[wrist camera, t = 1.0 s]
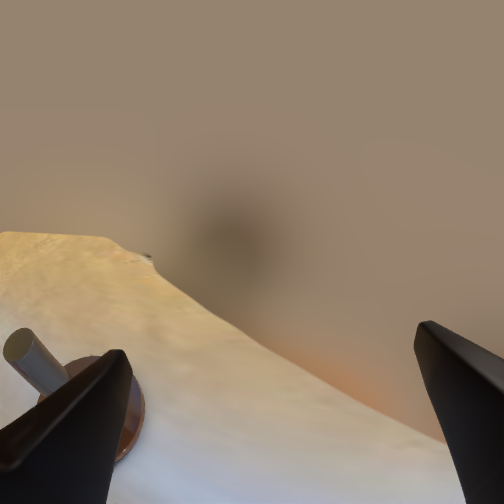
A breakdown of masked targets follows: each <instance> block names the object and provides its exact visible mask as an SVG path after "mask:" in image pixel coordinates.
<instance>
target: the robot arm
mask: <svg viewBox="0 0 504 504" xmlns="http://www.w3.org/2000/svg"><path fill="white" fill-rule="evenodd" d="M414 351H415V354H416V357H417V361H418V364H419V367H420V370H421V374H422V377H423V380H424V383H425V387H426V390H427V392H428V395H429V398H430V400H431V403H432V405H433V408H434V410H435V413H436V415H437V418H438V420H439V423H440V425H441V428H442V431H443V434H444V436H445V439H446V442H447V445H448V447H449V450H450V453H451V456H452V459H453V462H454V465H455V468H456V471H457V474H458V477H459V480H460V483H461V487H462V490H463V493H464V497H465V499H466V500H465V501H466V504H504V359H502V358H501V357H499V356H497V355H495V354H493V353H491V352H490V351H488V350H486V349H484V348H482V347H480V346H478V345H477V344H474V343H473V342H471V341H469V340H467V339H465V338H464V337H462V336H460V335H458V334H456V333H454V332H452V331H450V330H449V329H447V328H445V327H443V326H441V325H439V324H437V323H435V322H434V321H424V322H421V323H419V325H418V327H417V332H416V336H415V341H414ZM132 377H133V371H132V368H131V365H130V363H129V361H128V359H127V356H126V354H125V352H124V351H123V350H121V349H112V350H109V351H108V352H107V353H105V354H104V355H103V356H101V357H100V358H99V359H97V360H96V361H95V362H93V363H92V364H90V365H89V366H88V367H86V368H85V369H84V370H82V371H81V372H80V373H78V374H77V375H76V376H74V377H73V378H72V379H70V380H69V381H68V382H66V383H65V384H64V385H62V386H61V387H60V388H58V389H57V390H55V391H54V392H53V393H51V394H50V395H49V396H47V397H46V398H45V399H43V400H42V401H41V402H39V403H38V404H37V405H35V408H34V407H33V408H31V409H30V410H29V411H27V412H26V413H25V414H23V415H22V416H20V417H19V418H18V419H16V420H15V421H13V422H12V423H10V424H9V425H7V426H6V427H4V428H2V429H1V430H0V504H106V501H107V496H108V491H109V486H110V482H111V477H112V473H113V468H114V464H115V459H116V455H117V451H118V447H119V443H120V439H121V435H122V431H123V427H124V423H125V419H126V415H127V409H128V402H129V395H130V389H131V383H132Z"/></svg>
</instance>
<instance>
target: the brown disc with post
mask: <svg viewBox="0 0 504 504" xmlns="http://www.w3.org/2000/svg"><path fill="white" fill-rule="evenodd" d="M3 356H4V358H5V360H6V361H7V362H8V363H9V364H10V365H11V366H12V367H13V368H14V369H15V370H16V371H17V372H18V373H19V374H20V375H21V376H22V377H23V378H24V379H25V380H26V381H27V382H28V383H30V384H31V385H32V386H33V387H34V388H35V389H36V390H37V391H38V392H39V393H41V394H40V396H39V399H38V402H37V404H38V403H39V402H41V401H42V400H43V399H45V398H46V397H47V396H49V395H50V394H51V393H53V392H54V391H55V390H57V389H58V388H60V387H61V386H62V385H64V384H65V383H66V382H68V381H69V380H70V379H72V378H73V377H74V376H76V375H77V374H78V373H80V372H81V371H82V370H84V369H85V368H86V367H88V366H89V365H90V364H92V363H93V362H95V361H96V360H97V359H99V358H100V357H101V356H90V357H84V358H80V359H77V360H75V361H72V362H70V363H68V364H67V365H65V366H62V365H61V364H60V363H59V362H58V361H57V360H56V358H55V357H54V356H53V355H52V354H51V353H50V352H49V351H48V349H47V348H46V347H45V346H44V345H43V344H42V342H41V341H40V340H39V339H38V338H37V336H36V335H35V334H34V333H33V331H32V330H30V329H28V328H21V329H18V330H16V331H15V332H14V333H12V334H11V335H10V336H9V338H8V339H7V341H6V343H5V345H4V348H3ZM144 415H145V402H144V396H143V392H142V389H141V387H140V385H139V383H138V381H137V379H136V378H135V376H134V375H133V377H132V383H131V389H130V395H129V402H128V409H127V415H126V419H125V423H124V427H123V431H122V435H121V439H120V443H119V447H118V451H117V455H116V459H115V463H116V462H117V461H119V460H120V459H121V458H122V457H123V456H125V455H126V454H127V452H128V451H129V450H130V449H131V448H132V446H133V445H134V443H135V442H136V440H137V438H138V436H139V434H140V431H141V429H142V426H143V421H144Z"/></svg>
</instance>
